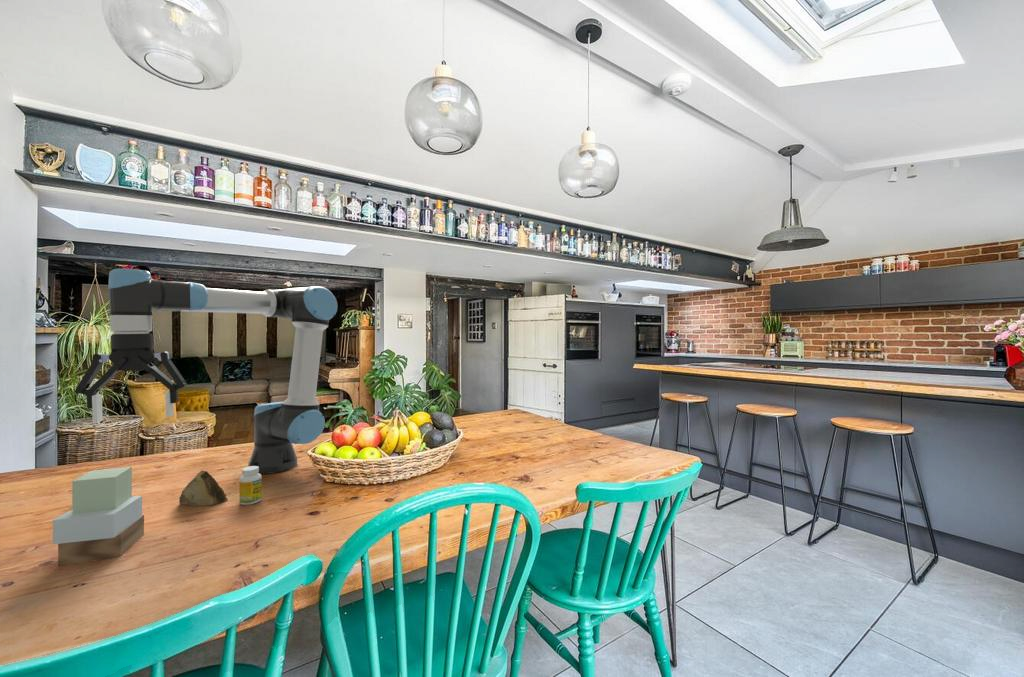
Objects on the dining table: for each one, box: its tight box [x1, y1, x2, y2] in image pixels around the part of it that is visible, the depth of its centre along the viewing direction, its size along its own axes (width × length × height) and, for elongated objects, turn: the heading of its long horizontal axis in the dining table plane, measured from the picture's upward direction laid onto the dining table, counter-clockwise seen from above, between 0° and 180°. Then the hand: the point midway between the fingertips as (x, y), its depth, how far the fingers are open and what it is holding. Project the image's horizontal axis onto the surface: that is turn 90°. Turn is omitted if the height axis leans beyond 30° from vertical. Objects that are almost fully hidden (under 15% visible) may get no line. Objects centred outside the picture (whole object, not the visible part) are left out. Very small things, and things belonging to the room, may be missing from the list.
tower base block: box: [57, 514, 145, 567], centre depth 89 cm, size 10×10×5 cm
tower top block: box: [52, 495, 143, 545], centre depth 88 cm, size 10×10×5 cm
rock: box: [178, 470, 228, 506], centre depth 114 cm, size 11×9×10 cm
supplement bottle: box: [238, 466, 263, 506], centre depth 114 cm, size 5×5×10 cm
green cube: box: [71, 466, 133, 514], centre depth 89 cm, size 7×7×7 cm
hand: (135, 419), depth 99 cm, fingers open, 13 cm apart
